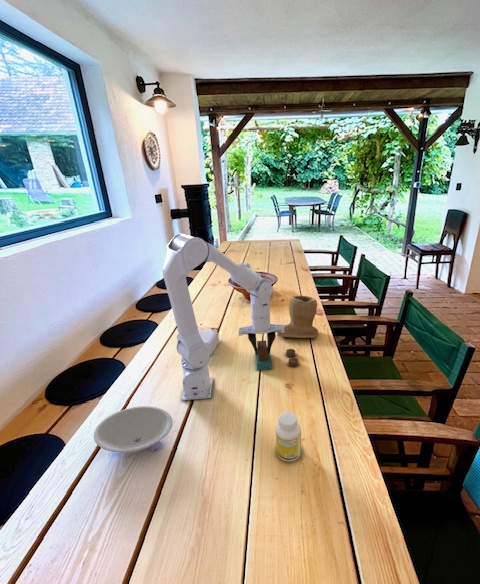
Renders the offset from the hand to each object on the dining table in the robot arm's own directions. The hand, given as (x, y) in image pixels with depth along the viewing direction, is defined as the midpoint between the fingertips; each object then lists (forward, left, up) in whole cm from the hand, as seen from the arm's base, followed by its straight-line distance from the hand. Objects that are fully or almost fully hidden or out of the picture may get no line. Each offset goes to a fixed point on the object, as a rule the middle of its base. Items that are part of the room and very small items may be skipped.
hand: (262, 352), depth 106 cm
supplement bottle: (-39, -3, -4) cm, 39 cm away
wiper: (0, 0, -3) cm, 3 cm away
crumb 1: (+3, -10, -3) cm, 11 cm away
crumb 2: (-3, -10, -3) cm, 11 cm away
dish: (-32, +32, -4) cm, 45 cm away
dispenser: (+15, +20, -1) cm, 25 cm away
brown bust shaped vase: (+18, -15, -4) cm, 24 cm away
